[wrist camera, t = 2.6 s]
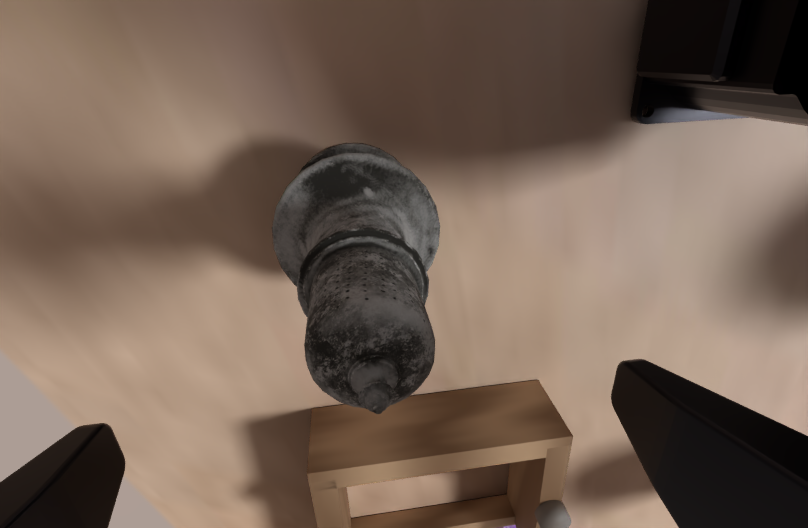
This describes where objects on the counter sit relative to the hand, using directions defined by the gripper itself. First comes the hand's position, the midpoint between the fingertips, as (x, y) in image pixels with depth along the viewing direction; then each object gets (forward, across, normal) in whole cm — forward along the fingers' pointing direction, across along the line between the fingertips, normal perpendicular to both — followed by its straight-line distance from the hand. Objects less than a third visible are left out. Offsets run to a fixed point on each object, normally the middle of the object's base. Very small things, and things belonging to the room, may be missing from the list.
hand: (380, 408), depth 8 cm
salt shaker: (+12, 0, 0) cm, 12 cm away
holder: (+12, -3, +16) cm, 20 cm away
